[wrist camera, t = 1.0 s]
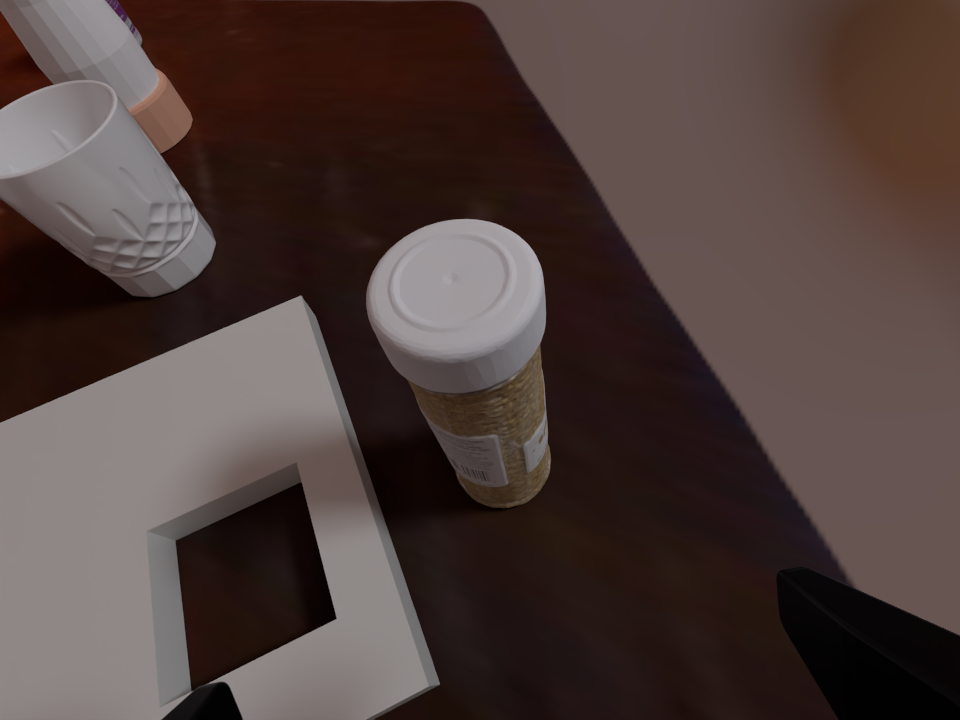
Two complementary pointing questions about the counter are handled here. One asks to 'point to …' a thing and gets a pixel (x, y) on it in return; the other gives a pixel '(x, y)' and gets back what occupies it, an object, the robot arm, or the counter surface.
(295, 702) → the block
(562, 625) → the counter surface
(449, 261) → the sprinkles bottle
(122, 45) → the pepper shaker
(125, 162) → the white cup
